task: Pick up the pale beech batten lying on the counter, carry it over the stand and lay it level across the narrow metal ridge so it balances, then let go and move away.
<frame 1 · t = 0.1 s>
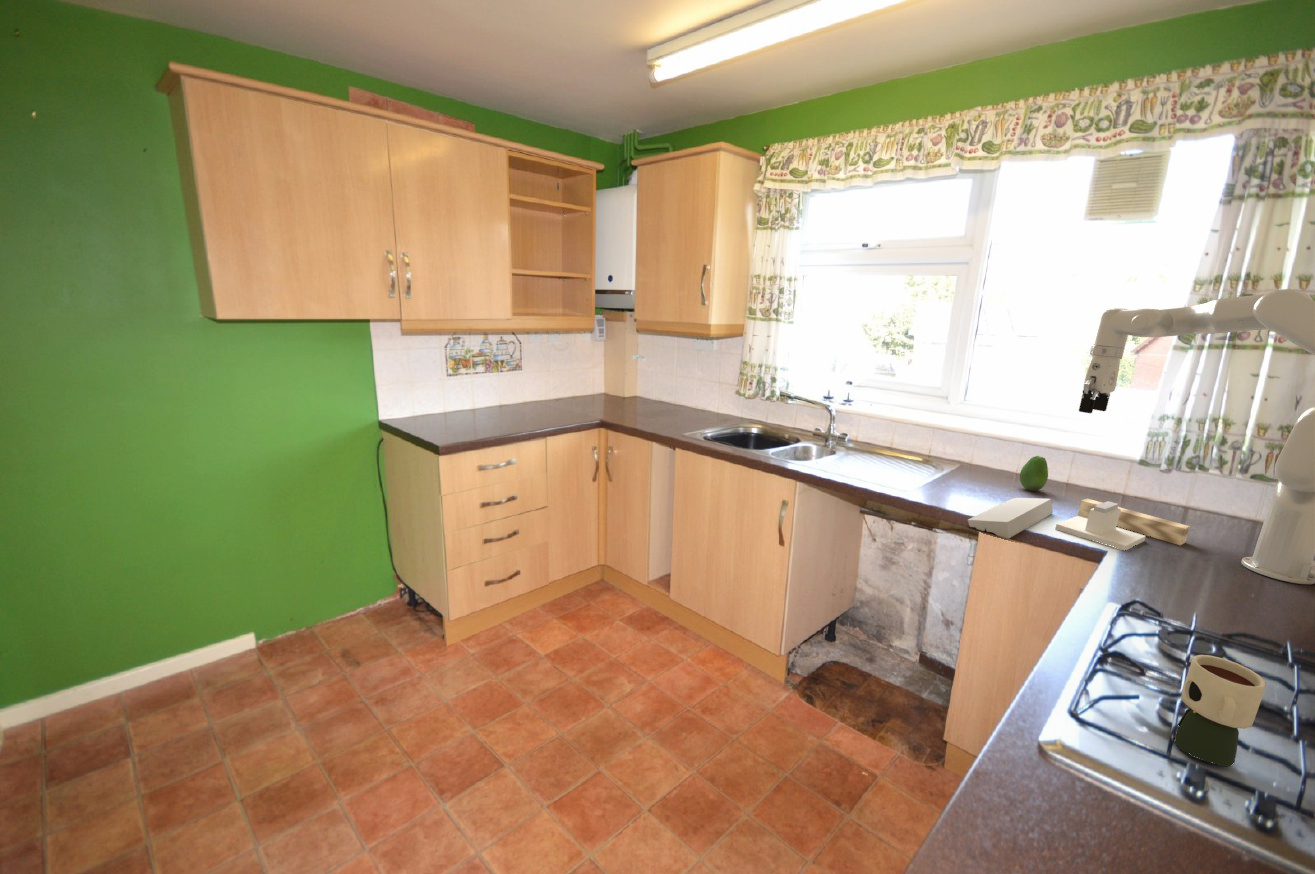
hand: (1092, 411, 168), 31 cm above the countertop, tool pointing down, fingers open, 9 cm apart
fruit: (1030, 490, 195), on the countertop
balance stand: (1099, 534, 157), on the countertop
white flat block: (1010, 521, 166), on the countertop
character mug: (1200, 754, 79), on the countertop
beech batten: (1128, 529, 164), on the countertop
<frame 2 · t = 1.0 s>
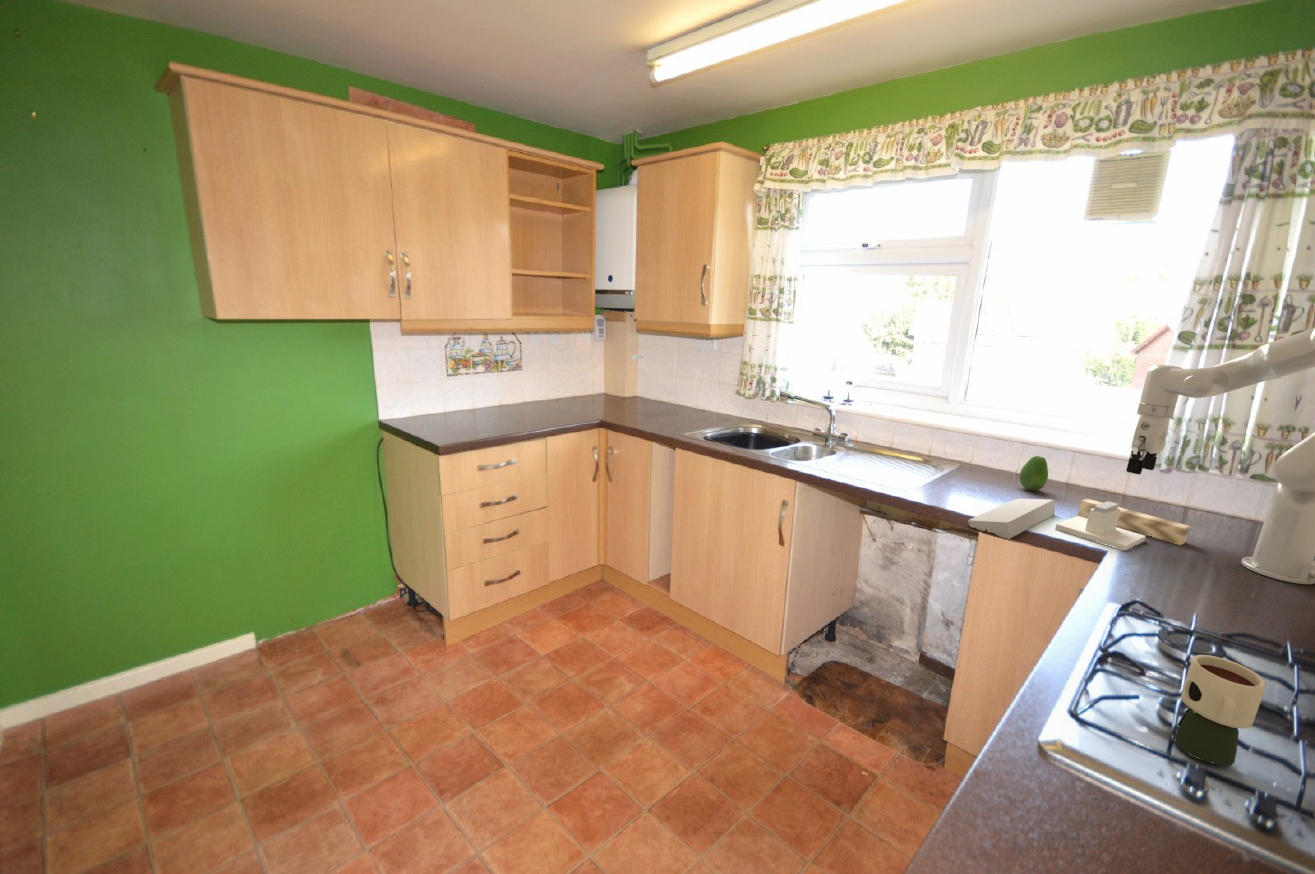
hand: (1139, 470, 160), 17 cm above the countertop, tool pointing down, fingers open, 9 cm apart
nothing on the countertop moved.
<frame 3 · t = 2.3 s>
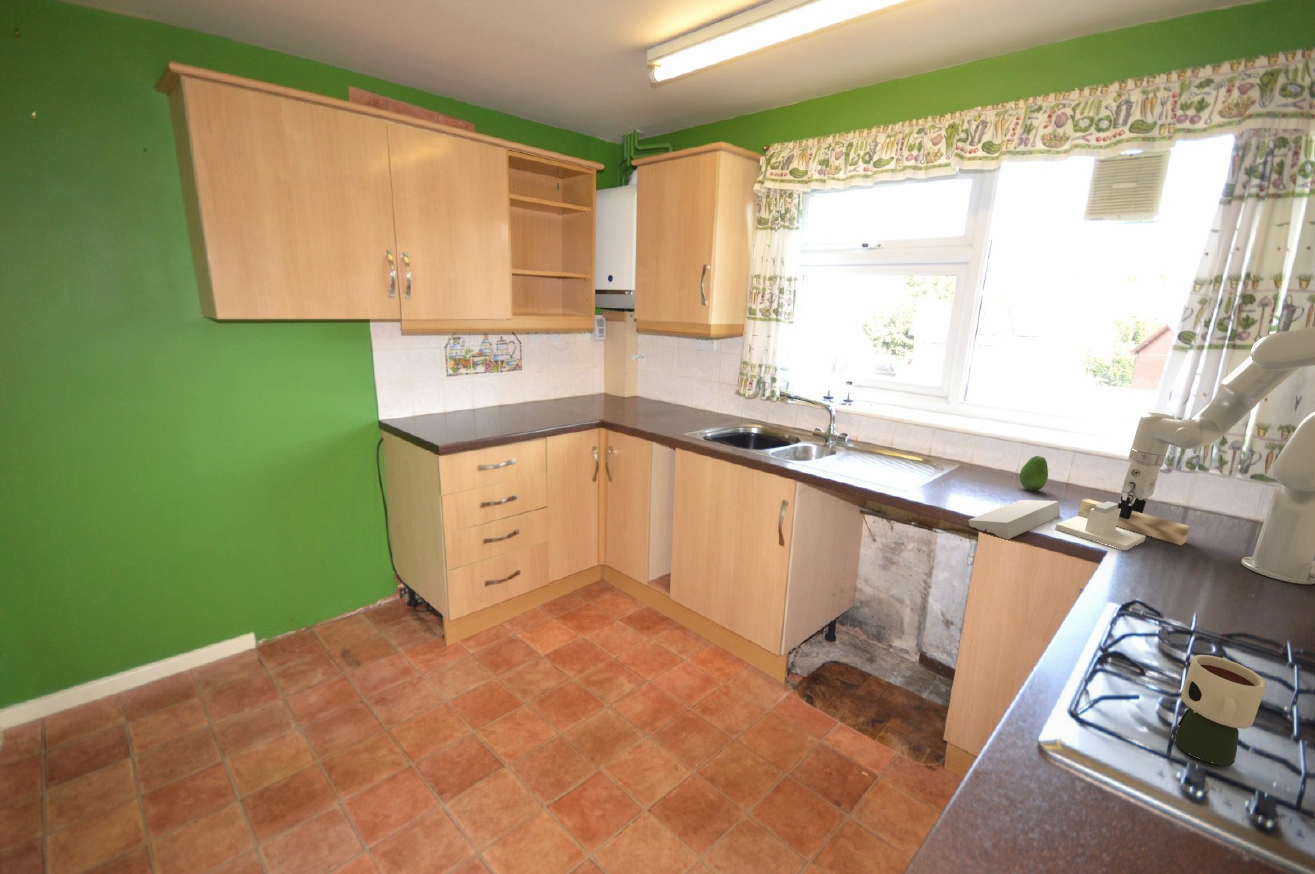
hand: (1128, 514, 163), 4 cm above the countertop, tool pointing down, fingers open, 9 cm apart
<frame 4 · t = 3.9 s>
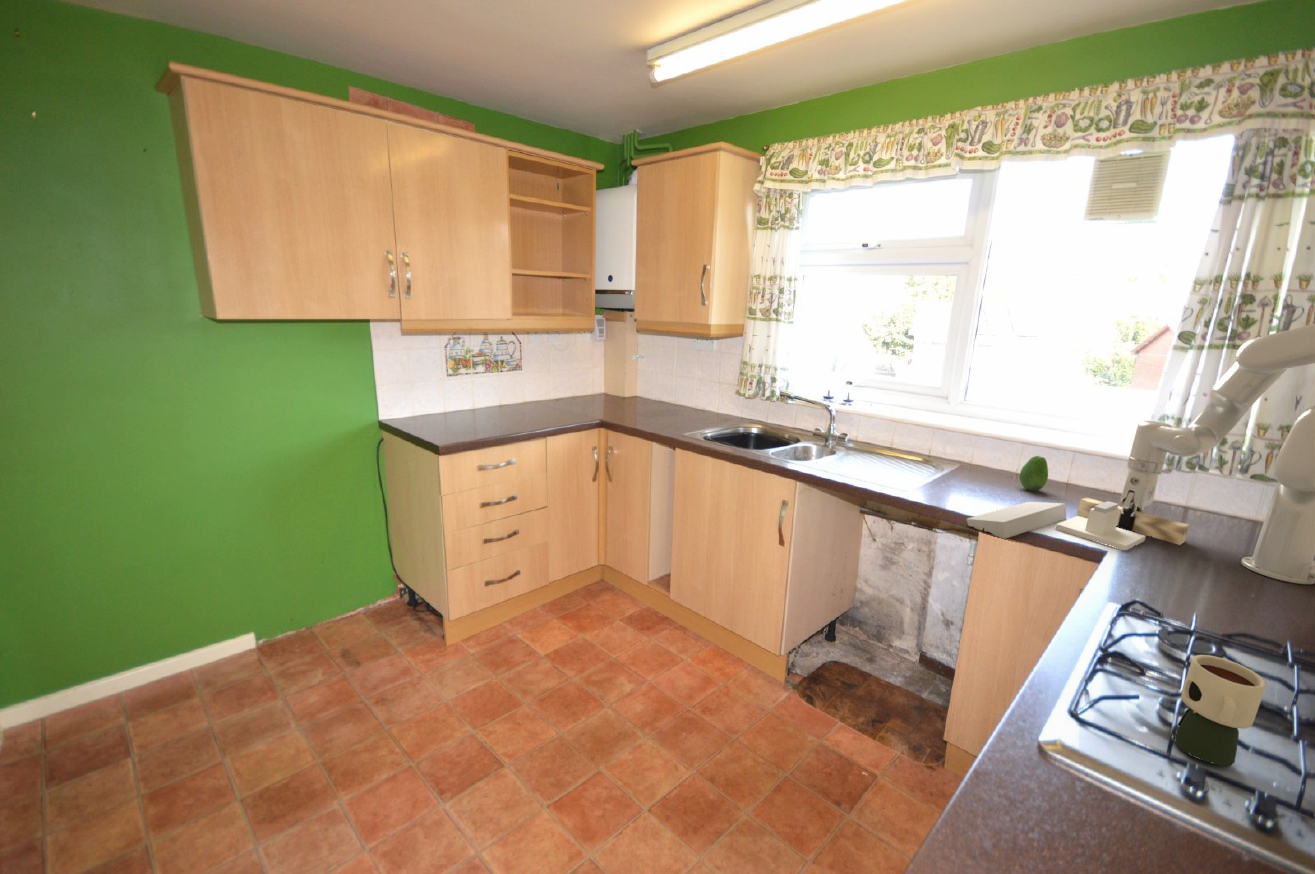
hand: (1128, 526, 164), 0 cm above the countertop, tool pointing down, fingers closed on beech batten, 4 cm apart
beech batten: (1127, 527, 164), on the countertop, touching gripper
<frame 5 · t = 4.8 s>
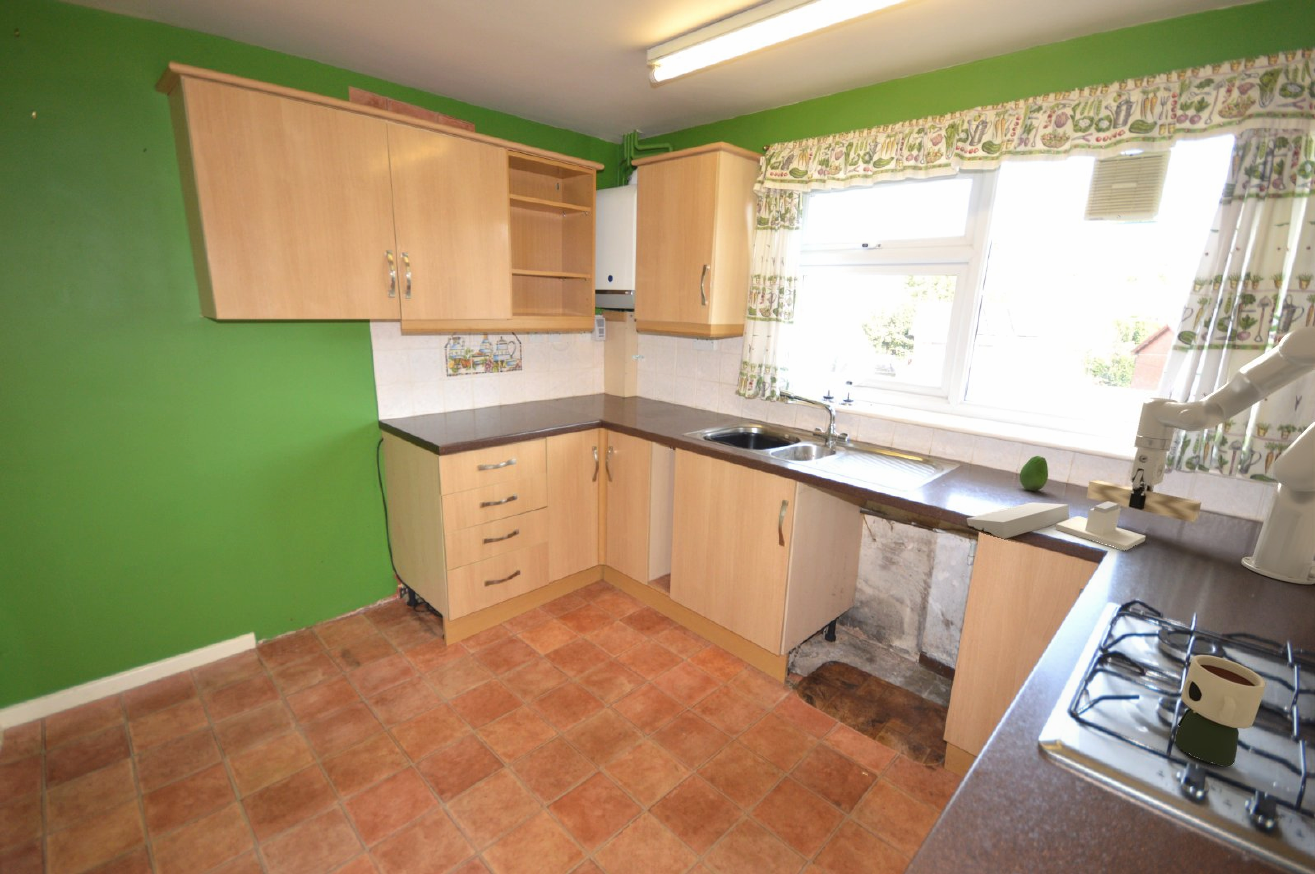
hand: (1139, 506, 161), 7 cm above the countertop, tool pointing down, fingers closed on beech batten, 4 cm apart
beech batten: (1138, 508, 161), point 6 cm above the countertop, touching gripper
when the fingers open (10 cm above the countertop, at t = 9.0 s): beech batten drops 1 cm, resting on balance stand.
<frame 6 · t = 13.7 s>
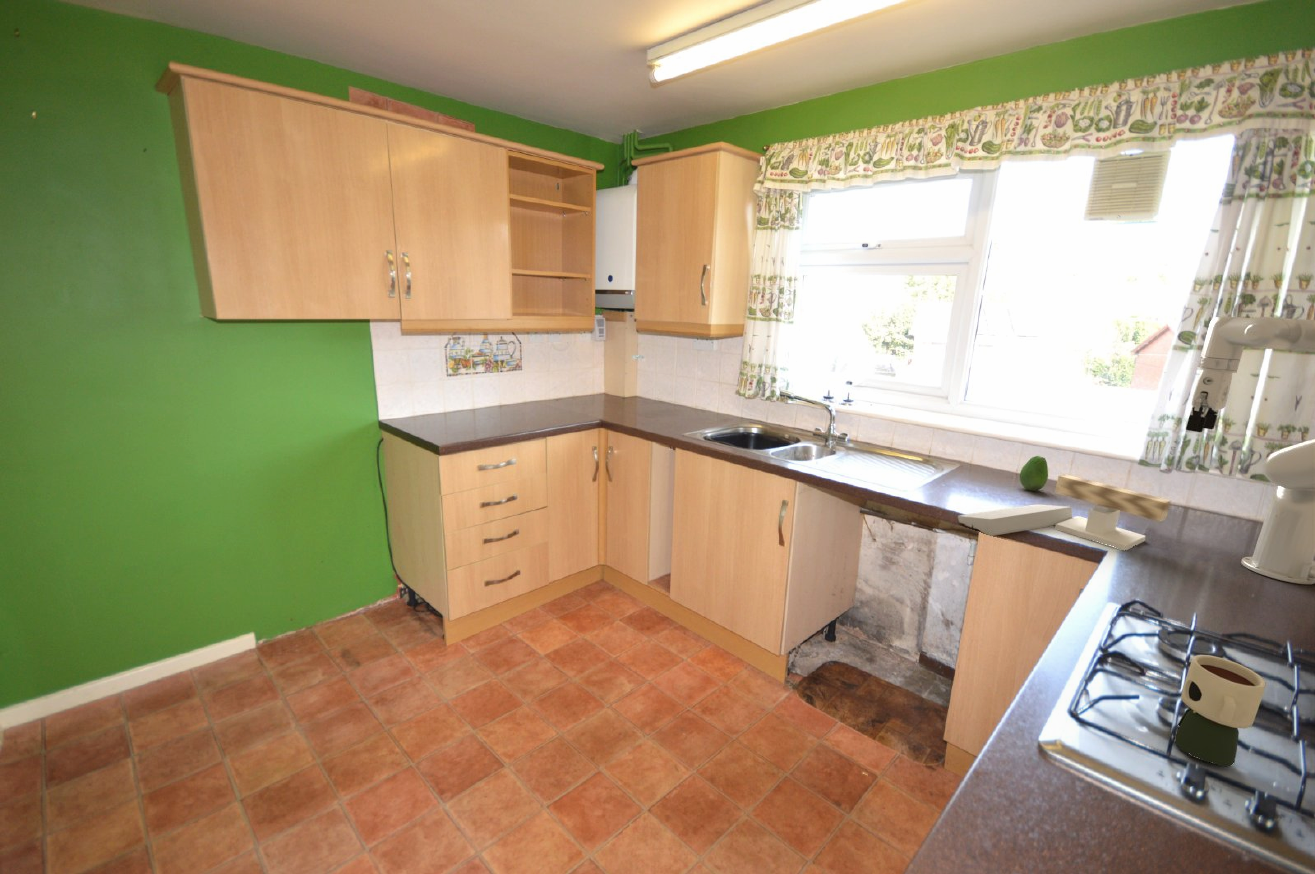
hand: (1199, 429, 152), 30 cm above the countertop, tool pointing down, fingers open, 9 cm apart
beech batten: (1107, 505, 155), point 9 cm above the countertop, touching balance stand
at the end: beech batten 0.1 cm off-centre on the balance stand, point 8.7 cm above the balance stand's base; beech batten tilted 0°; the gripper is holding nothing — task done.
